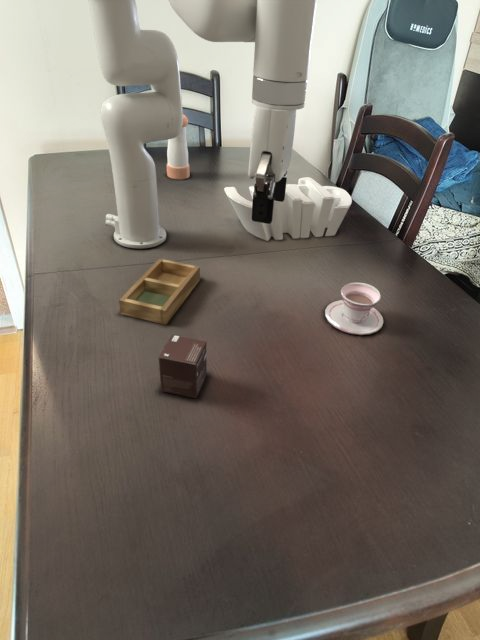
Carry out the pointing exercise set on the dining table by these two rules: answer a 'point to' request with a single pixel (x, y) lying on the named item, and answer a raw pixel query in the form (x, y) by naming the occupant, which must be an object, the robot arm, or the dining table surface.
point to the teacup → (356, 310)
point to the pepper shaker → (178, 155)
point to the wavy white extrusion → (296, 211)
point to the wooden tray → (160, 291)
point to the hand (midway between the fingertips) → (268, 210)
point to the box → (183, 366)
